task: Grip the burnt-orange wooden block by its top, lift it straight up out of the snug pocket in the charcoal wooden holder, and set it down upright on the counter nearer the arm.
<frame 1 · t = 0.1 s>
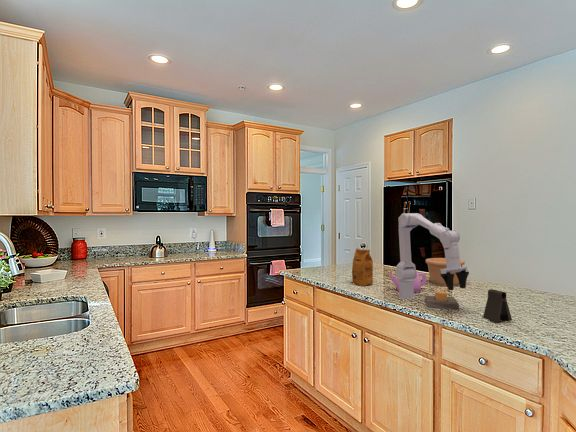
hand: (457, 289, 151), 11 cm above the table, tool pointing down, fingers open, 7 cm apart
orange block: (441, 304, 163), resting on pocket holder
pottery: (445, 283, 213), on the table
phone stand: (497, 320, 141), on the table
teakettle: (407, 290, 197), on the table
pocket holder: (441, 305, 163), on the table
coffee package: (362, 284, 214), on the table
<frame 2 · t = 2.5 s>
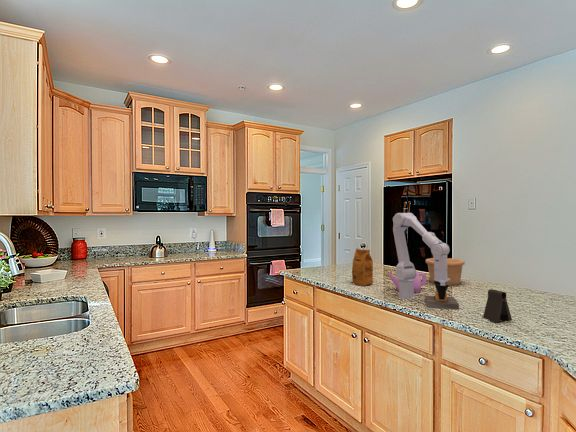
hand: (441, 297, 162), 4 cm above the table, tool pointing down, fingers closed on orange block, 4 cm apart
orange block: (441, 304, 163), resting on pocket holder, touching gripper
everything else where it was.
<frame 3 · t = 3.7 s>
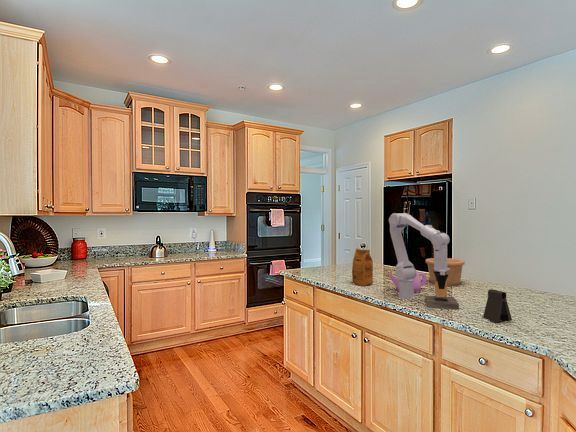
hand: (440, 287, 162), 9 cm above the table, tool pointing down, fingers closed on orange block, 4 cm apart
orange block: (440, 294, 163), point 5 cm above the table, touching gripper
everything else where it was.
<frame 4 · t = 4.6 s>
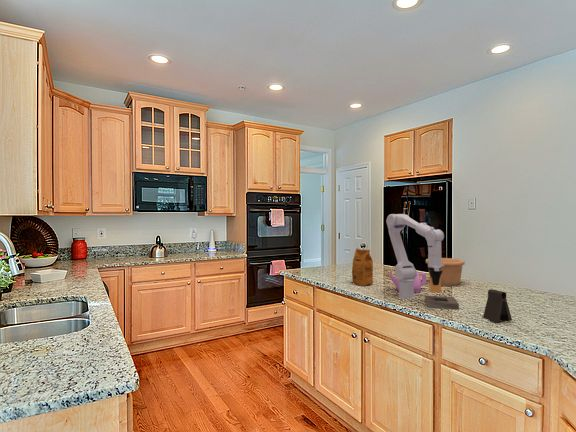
hand: (435, 284, 163), 10 cm above the table, tool pointing down, fingers closed on orange block, 4 cm apart
orange block: (435, 291, 163), point 7 cm above the table, touching gripper
everything else where it was.
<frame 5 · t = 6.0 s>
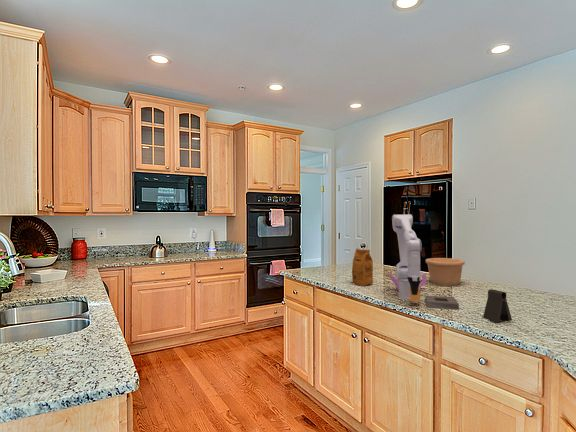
hand: (414, 293, 164), 6 cm above the table, tool pointing down, fingers closed on orange block, 4 cm apart
orange block: (415, 300, 164), point 2 cm above the table, touching gripper
everything else where it was.
when the fingers open (5 cm above the table, at t = 7.1 s): orange block drops 2 cm, on the table.
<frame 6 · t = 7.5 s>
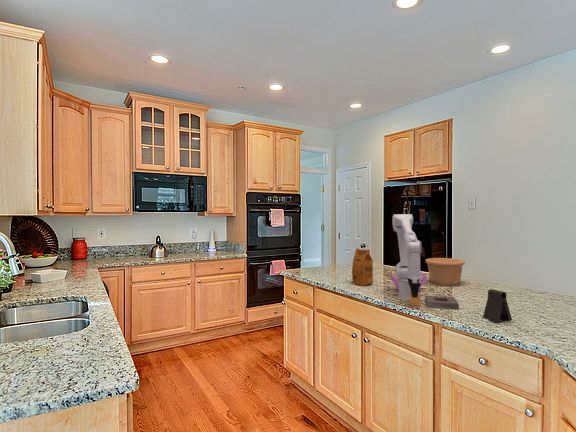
hand: (414, 295, 164), 5 cm above the table, tool pointing down, fingers open, 7 cm apart
orange block: (414, 305, 164), on the table
everything else where it was.
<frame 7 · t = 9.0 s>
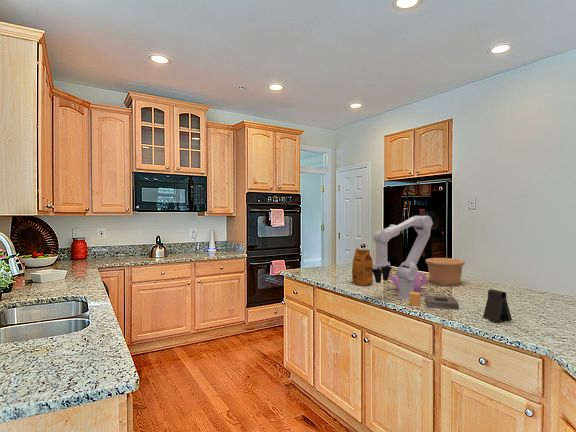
hand: (381, 281, 175), 9 cm above the table, tool pointing down, fingers open, 7 cm apart
nothing on the table moved.
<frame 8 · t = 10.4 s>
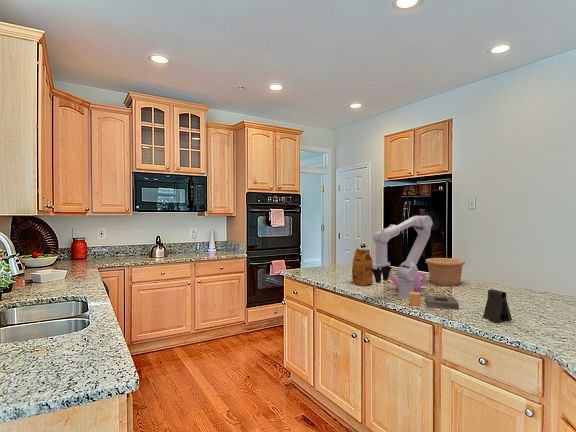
hand: (381, 281, 175), 9 cm above the table, tool pointing down, fingers open, 7 cm apart
nothing on the table moved.
at the end: orange block inside the target area (0.3 cm from its centre), on the table; orange block tilted 0°; orange block touching table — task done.
